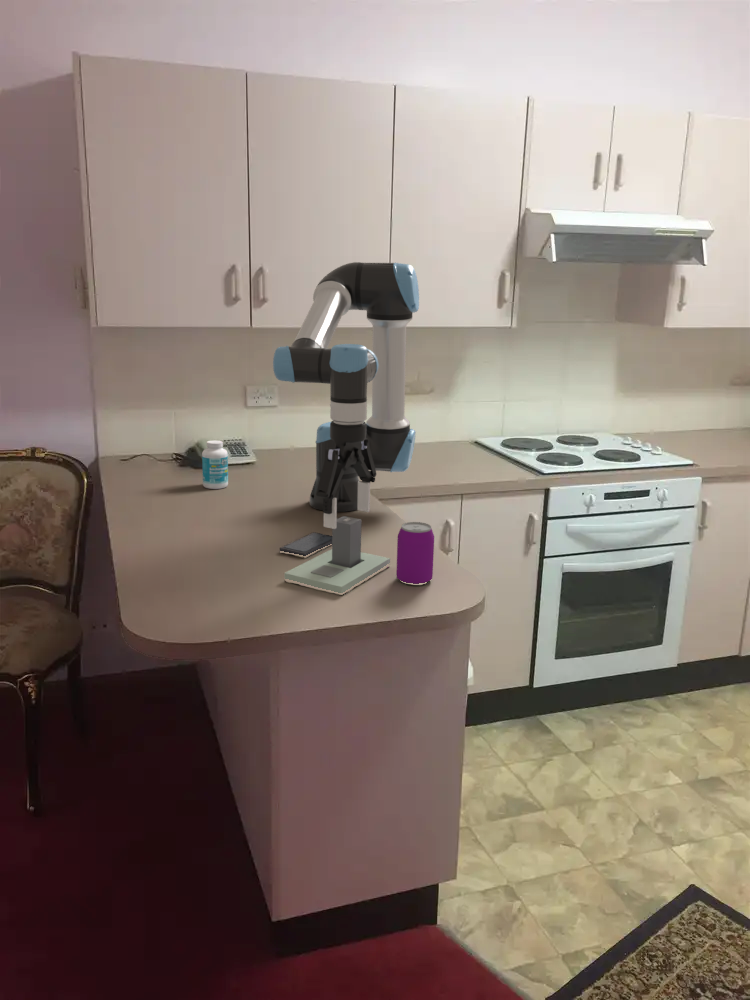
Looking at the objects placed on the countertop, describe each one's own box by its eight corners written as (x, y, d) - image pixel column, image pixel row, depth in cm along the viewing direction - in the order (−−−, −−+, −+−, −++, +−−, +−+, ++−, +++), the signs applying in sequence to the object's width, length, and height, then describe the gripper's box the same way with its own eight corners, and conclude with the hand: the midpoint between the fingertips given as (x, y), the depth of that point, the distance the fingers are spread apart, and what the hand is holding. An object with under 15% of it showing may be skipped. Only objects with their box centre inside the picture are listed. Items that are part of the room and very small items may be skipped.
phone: (313, 536, 198) (313, 531, 197) (338, 542, 194) (338, 536, 194) (279, 552, 186) (279, 547, 186) (304, 558, 183) (304, 553, 182)
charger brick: (342, 563, 179) (343, 515, 176) (360, 567, 177) (361, 518, 174) (331, 569, 176) (332, 520, 172) (349, 573, 173) (350, 523, 170)
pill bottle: (210, 491, 236) (209, 445, 232) (198, 485, 241) (196, 441, 238) (233, 487, 240) (232, 442, 237) (220, 482, 246) (219, 438, 242)
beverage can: (394, 574, 175) (396, 520, 172) (429, 573, 175) (432, 520, 172) (397, 587, 168) (399, 532, 164) (434, 587, 168) (437, 532, 165)
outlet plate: (336, 554, 186) (336, 545, 185) (389, 566, 179) (390, 557, 178) (284, 581, 169) (284, 572, 168) (341, 596, 162) (341, 585, 162)
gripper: (363, 409, 180) (362, 501, 186) (298, 429, 159) (299, 531, 165) (393, 413, 176) (390, 506, 182) (330, 434, 155) (330, 538, 162)
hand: (347, 518), depth 174 cm, fingers open, 13 cm apart
